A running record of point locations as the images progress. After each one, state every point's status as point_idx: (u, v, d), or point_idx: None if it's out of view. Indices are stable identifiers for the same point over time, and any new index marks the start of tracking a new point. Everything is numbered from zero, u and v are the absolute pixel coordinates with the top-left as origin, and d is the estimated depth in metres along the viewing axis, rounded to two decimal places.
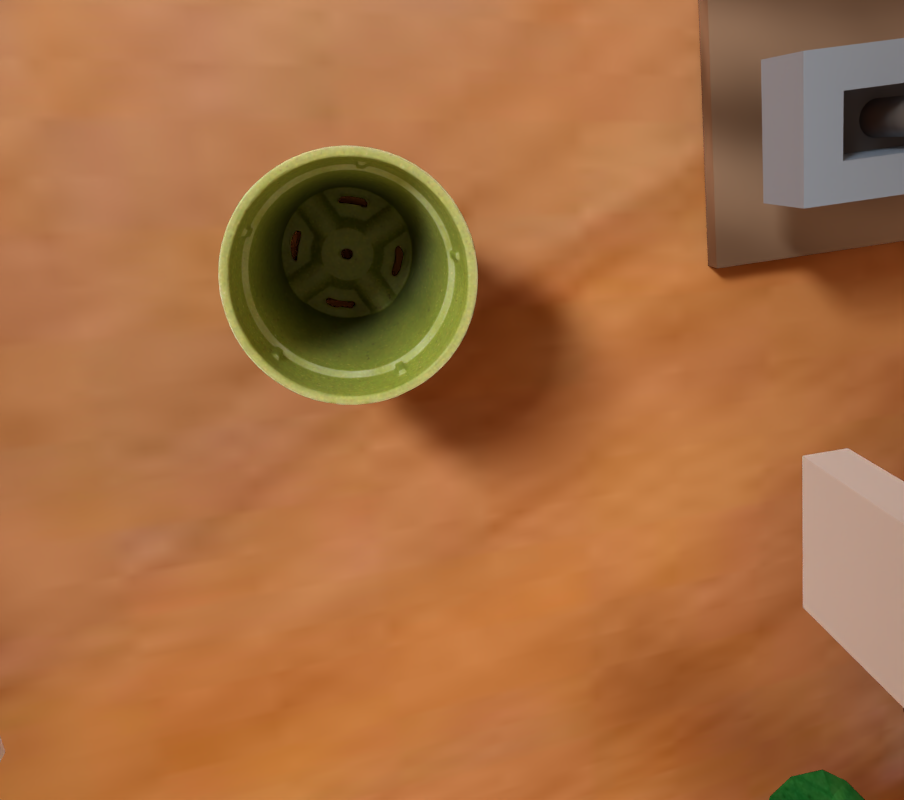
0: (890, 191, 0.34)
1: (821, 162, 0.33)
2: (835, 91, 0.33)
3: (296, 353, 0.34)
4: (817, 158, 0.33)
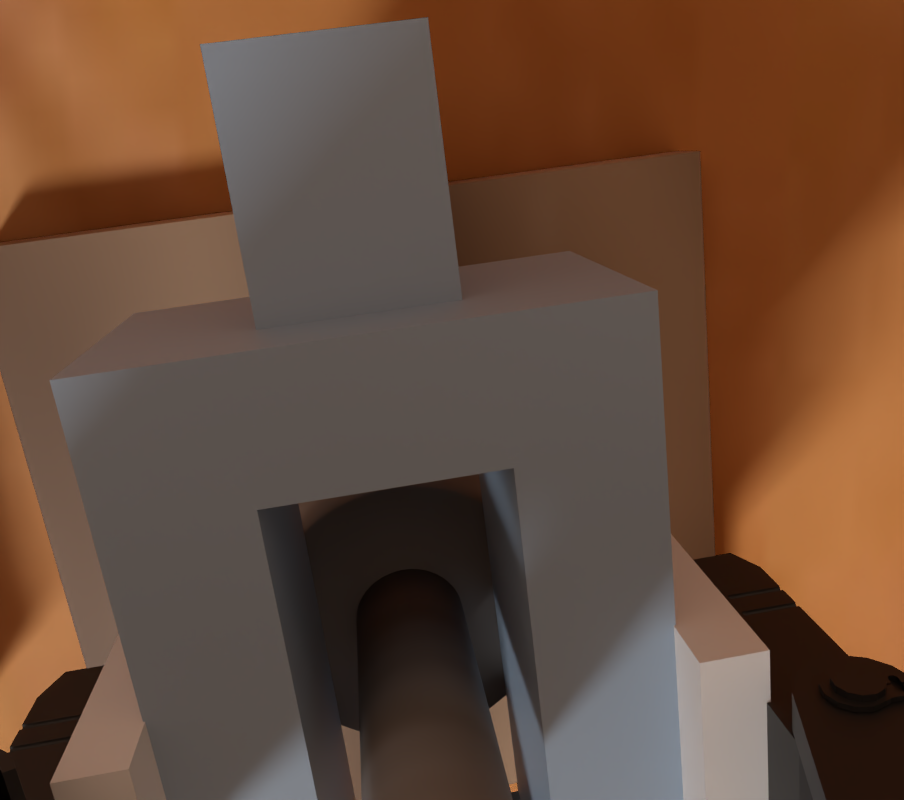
0: None
1: None
2: None
3: None
4: None
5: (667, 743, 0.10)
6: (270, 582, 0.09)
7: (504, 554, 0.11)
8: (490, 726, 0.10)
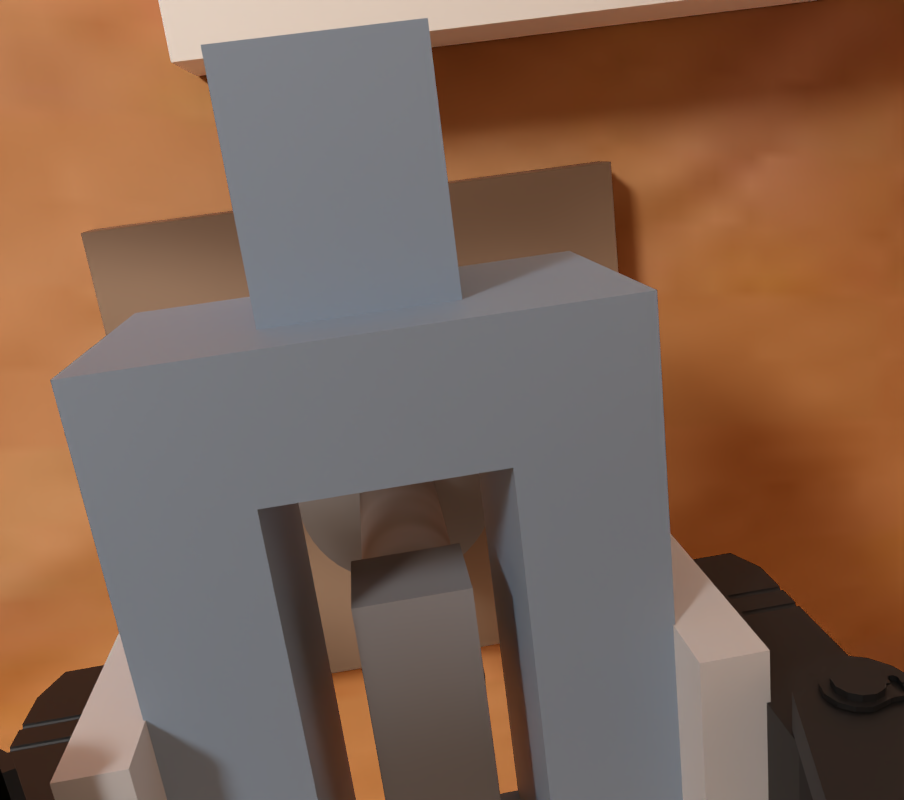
0: None
1: None
2: None
3: None
4: None
5: (667, 742, 0.10)
6: (270, 582, 0.09)
7: (504, 554, 0.11)
8: None
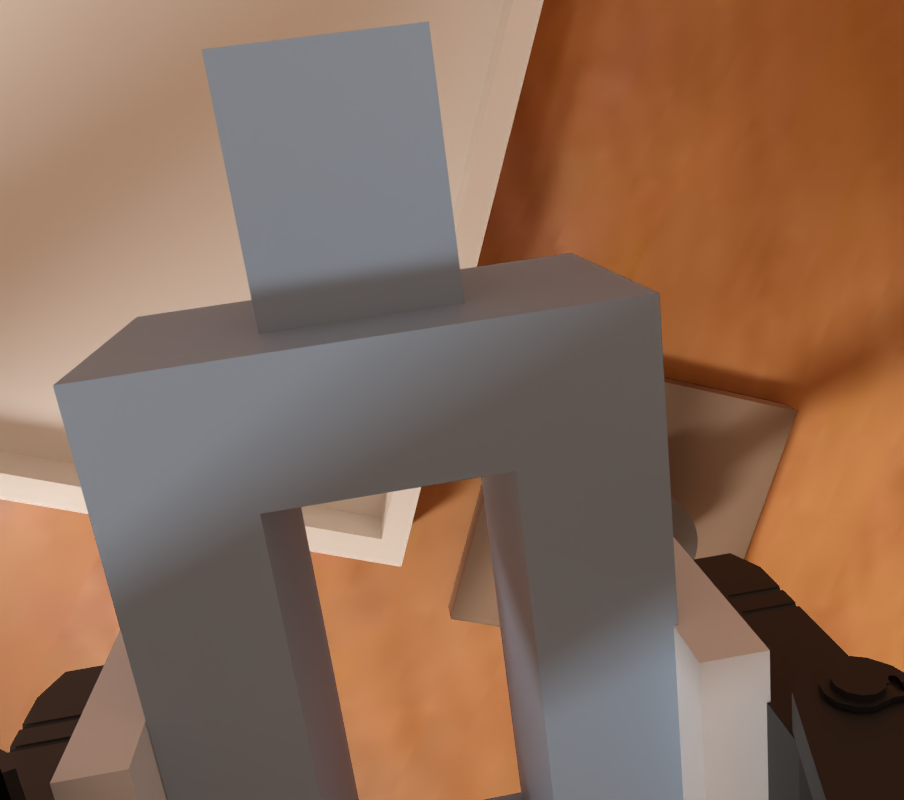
0: None
1: None
2: None
3: None
4: None
5: (670, 744, 0.10)
6: (274, 586, 0.09)
7: (507, 556, 0.11)
8: None
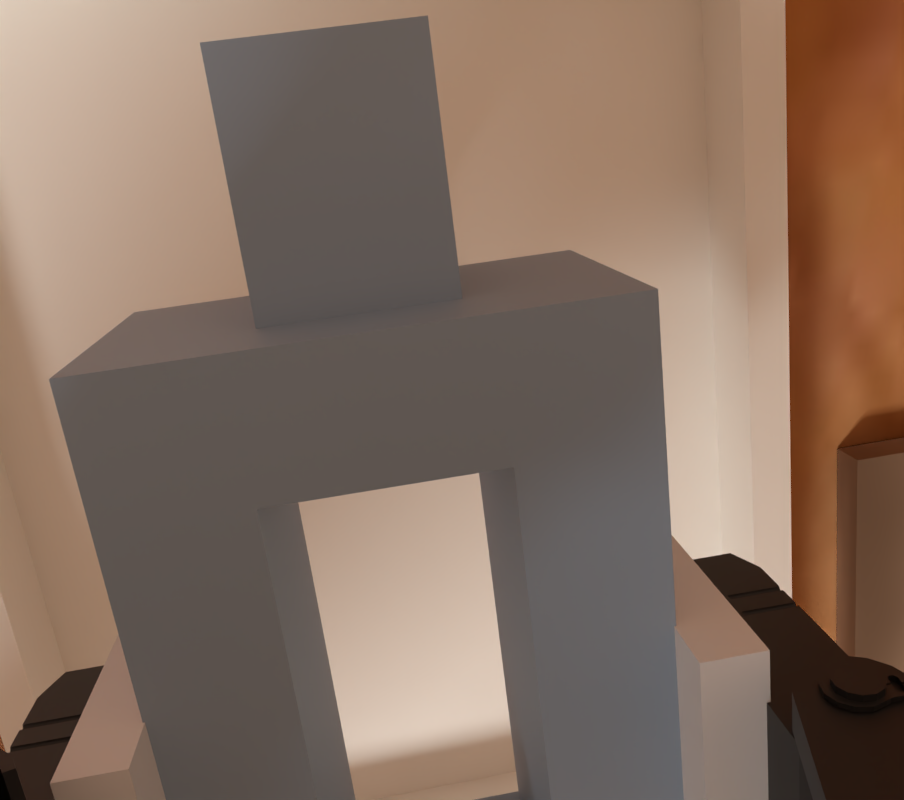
0: None
1: None
2: None
3: None
4: None
5: (668, 742, 0.10)
6: (269, 583, 0.09)
7: (504, 553, 0.11)
8: None
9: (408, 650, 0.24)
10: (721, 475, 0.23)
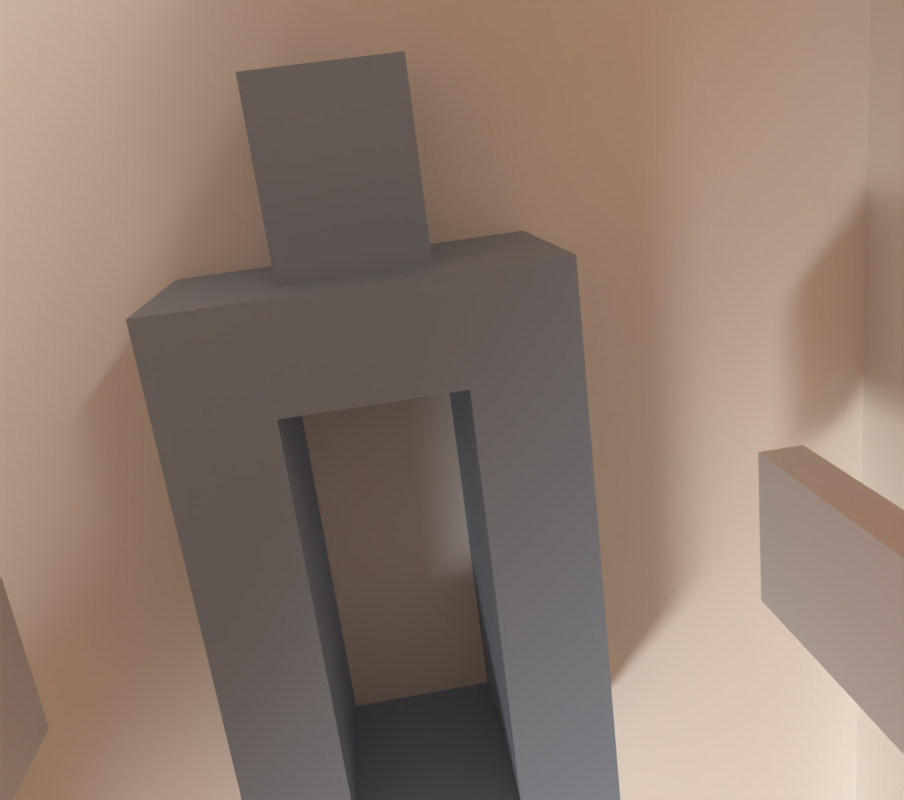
0: (599, 686, 0.13)
1: None
2: None
3: None
4: None
5: (593, 610, 0.13)
6: (286, 476, 0.12)
7: (469, 469, 0.14)
8: None
9: None
10: None
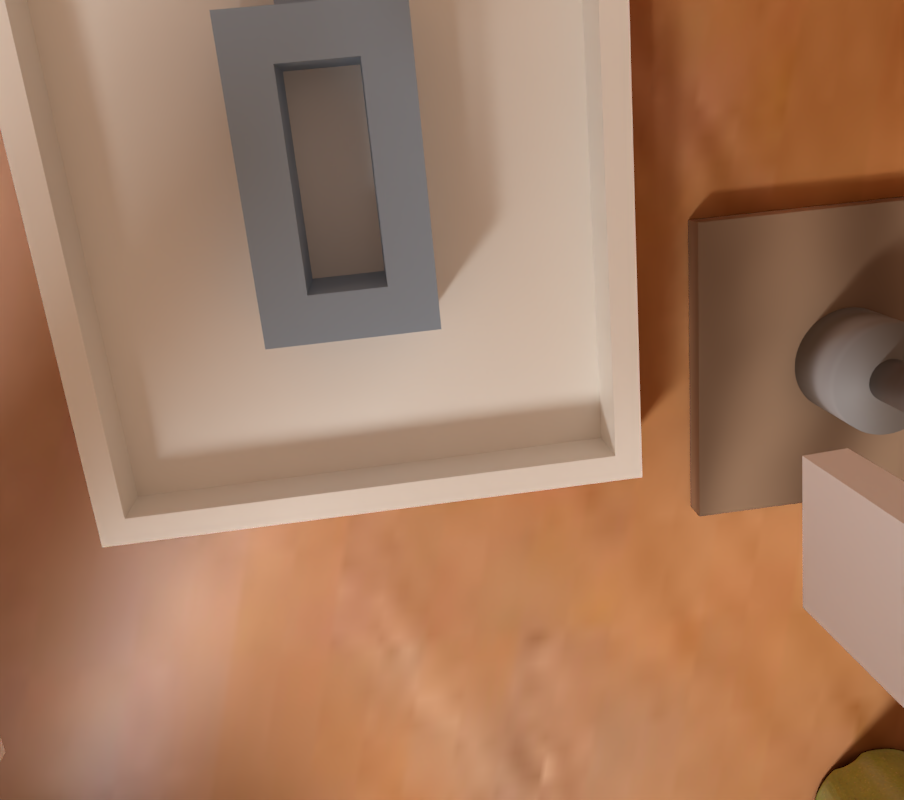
0: (424, 219, 0.27)
1: (388, 313, 0.28)
2: (308, 305, 0.28)
3: None
4: (384, 318, 0.28)
5: (420, 177, 0.27)
6: (277, 92, 0.26)
7: (367, 118, 0.28)
8: None
9: (357, 351, 0.32)
10: (593, 225, 0.31)
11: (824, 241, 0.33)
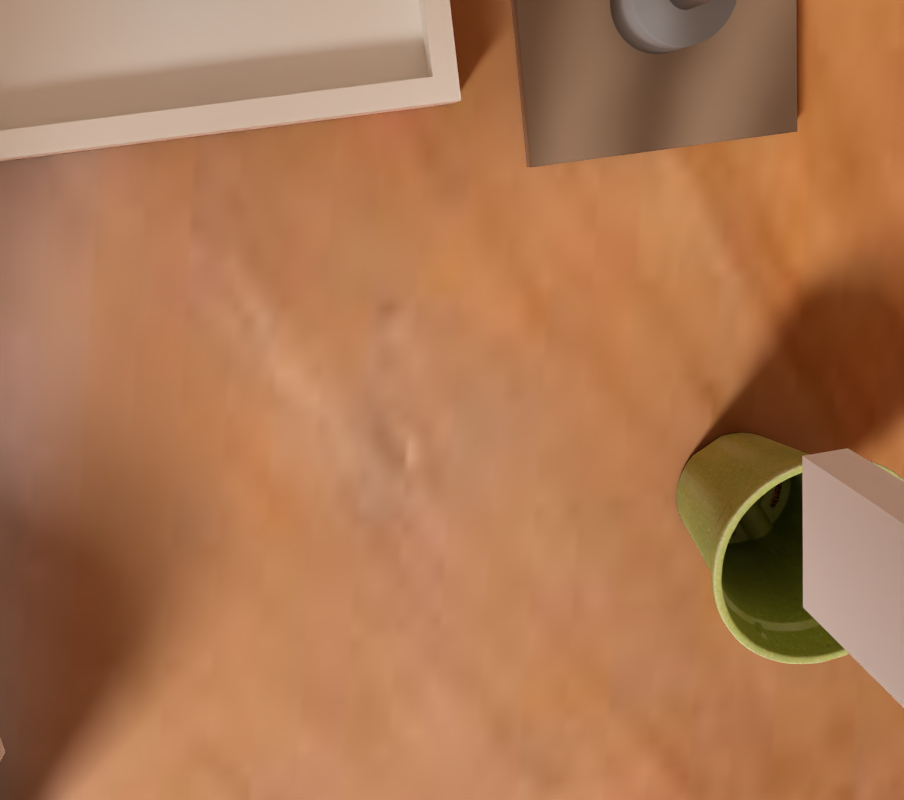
0: None
1: None
2: None
3: None
4: None
5: None
6: None
7: None
8: None
9: None
10: None
11: None
